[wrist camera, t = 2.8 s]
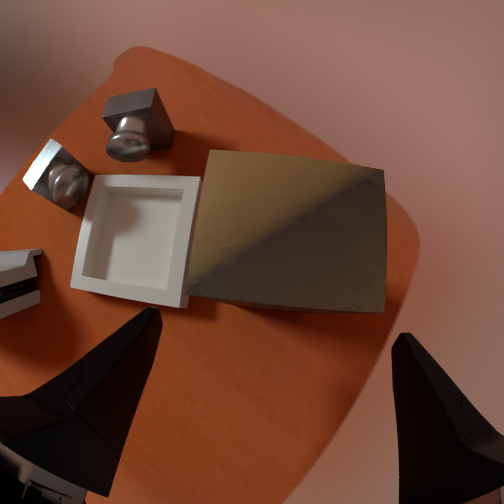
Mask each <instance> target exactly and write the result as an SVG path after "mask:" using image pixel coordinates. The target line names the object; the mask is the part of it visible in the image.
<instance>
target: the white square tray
mask: <svg viewBox="0 0 504 504" xmlns="http://www.w3.org/2000/svg"><path fill="white" fill-rule="evenodd" d="M202 186H203V182H202V180H201V177H193V176H167V175H95V178H94V182H93V185H92V188H91V192H90V195H89V199H88V203H87V206H86V210H85V214H84V218H83V222H82V226H81V231H80V235H79V240H78V245H77V250H76V255H75V261H74V266H73V272H72V279H71V286H70V287H73V288H77V289H82V290H86V291H91V292H96V293H100V294H105V295H110V296H115V297H120V298H125V299H131V300H136V301H142V302H147V303H153V304H159V305H165V306H171V307H178V308H188V300H189V295H187V294H185V293H186V285H187V278H188V271H189V264H190V257H191V250H192V244H193V238H194V232H195V226H196V220H197V214H198V208H199V203H200V197H201V192H202Z"/></svg>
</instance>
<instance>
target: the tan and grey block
mask: <svg viewBox="0 0 504 504" xmlns="http://www.w3.org/2000/svg"><path fill="white" fill-rule="evenodd" d="M384 181H385V180H384V170H380V169H375V168H370V167H364V166H359V165H353V164H347V163H341V162H334V161H328V160H321V159H313V158H305V157H297V156H288V155H278V154H268V153H256V152H243V151H226V150H210V151H209V156H208V161H207V166H206V171H205V176H204V181H203V186H202V192H201V197H200V203H199V208H198V214H197V220H196V226H195V232H194V238H193V244H192V250H191V257H190V264H189V271H188V278H187V285H186V293H185V294H187V295H191V296H195V297H199V298H203V299H208V300H212V301H217V302H221V303H226V304H230V305H235V306H243V307H252V308H262V309H271V310H281V311H292V312H304V313H384V310H385V296H386V274H387V216H386V195H385V182H384Z"/></svg>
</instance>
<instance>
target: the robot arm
mask: <svg viewBox="0 0 504 504" xmlns="http://www.w3.org/2000/svg"><path fill="white" fill-rule="evenodd" d="M162 327H163V323H162V318H161V313H160V310H159V308H157V307H152V306H148V307H146V308H145V309H144V310H142V311H141V312H140V313H138V314H137V315H136V316H135V317H133V318H132V319H131V320H129V321H128V322H127V323H125V324H124V325H123V326H122V327H120V328H119V329H118V330H116V331H115V332H114V333H113V334H111V335H110V336H109V337H107V338H106V339H105V340H104V341H102V342H101V343H100V344H98V345H97V346H96V347H95V348H93V349H92V350H91V351H90V352H88V353H87V354H86V355H85V356H83V357H82V358H81V359H79V360H78V361H77V362H76V363H74V364H73V365H72V366H70V367H69V368H68V369H66V370H65V371H64V372H62V373H61V374H59V375H58V376H56V377H55V378H53V379H51V380H50V381H48V382H47V383H45V384H44V385H42V386H41V387H39V388H37V389H36V390H34V391H32V392H31V393H28V394H26V395H22V396H10V397H0V504H86V502H85V497H86V494H87V491H88V490H89V491H91V492H94V493H96V494H99V495H102V496H104V497H107V498H108V496H109V494H110V490H111V487H112V483H113V480H114V477H115V473H116V470H117V467H118V464H119V460H120V457H121V454H122V451H123V448H124V445H125V441H126V438H127V435H128V432H129V429H130V427H131V424H132V421H133V418H134V415H135V412H136V409H137V406H138V404H139V401H140V398H141V395H142V392H143V390H144V387H145V384H146V382H147V379H148V376H149V374H150V371H151V368H152V365H153V362H154V359H155V355H156V351H157V347H158V343H159V339H160V335H161V331H162ZM391 355H392V380H393V393H394V402H395V411H396V422H397V434H398V451H399V477H400V478H399V504H504V436H503V435H502V434H500V433H499V432H497V431H496V430H495V428H494V427H493V426H492V425H491V424H490V423H489V422H488V421H487V420H486V419H485V418H484V417H483V416H482V415H481V414H480V413H479V412H478V410H477V409H476V408H475V407H474V406H473V405H472V404H471V402H470V401H469V400H468V399H467V398H466V396H465V395H464V394H463V393H462V392H461V390H460V389H459V388H458V387H457V385H456V384H455V383H454V382H453V381H452V379H451V378H450V377H449V376H448V375H447V374H446V373H445V371H444V370H443V369H442V368H441V367H440V365H439V364H438V363H437V362H436V361H435V360H434V359H433V357H432V356H431V355H430V354H429V353H428V352H427V351H426V349H425V348H424V347H423V346H422V345H421V344H420V343H419V342H418V341H417V339H416V338H415V337H414V336H413V335H412V334H411V333H401V334H399V336H398V338H397V339H396V341H395V343H394V344H393V346H392V351H391Z"/></svg>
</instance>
